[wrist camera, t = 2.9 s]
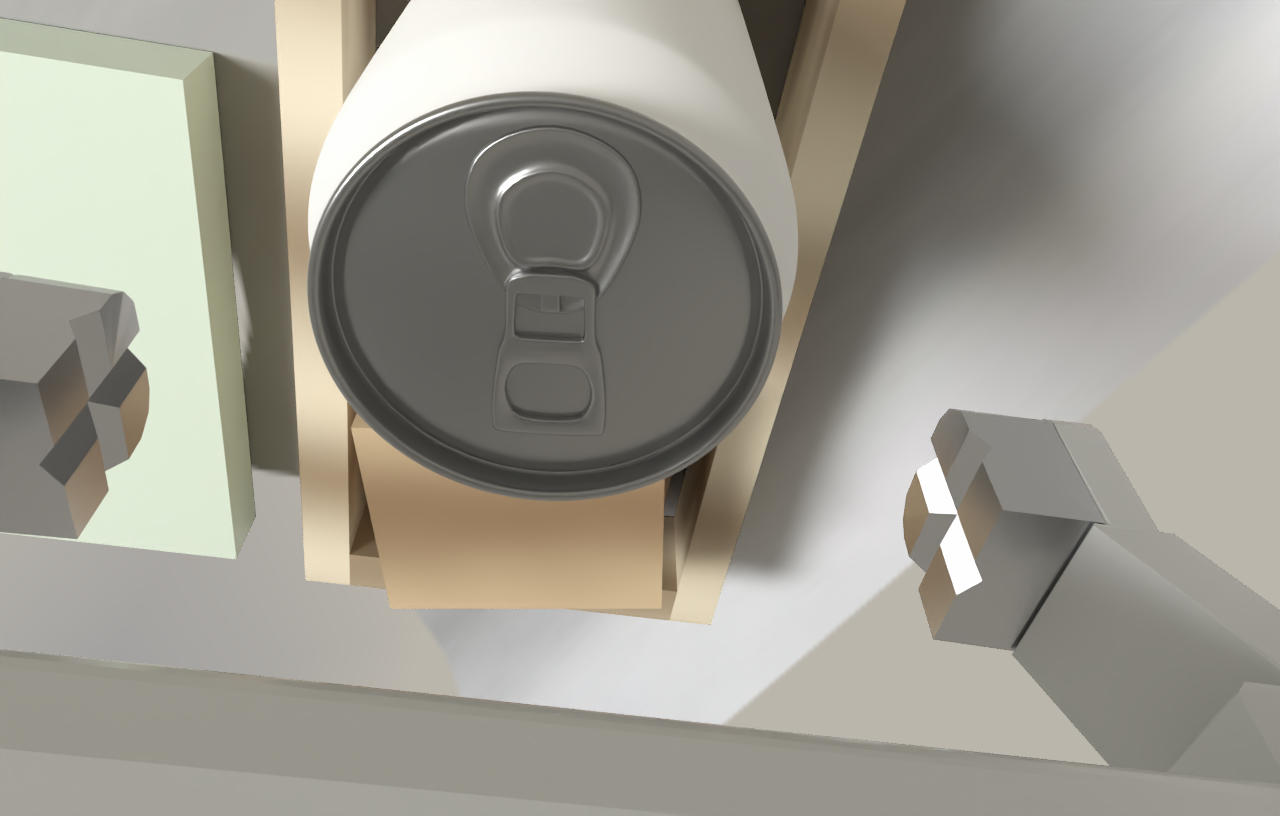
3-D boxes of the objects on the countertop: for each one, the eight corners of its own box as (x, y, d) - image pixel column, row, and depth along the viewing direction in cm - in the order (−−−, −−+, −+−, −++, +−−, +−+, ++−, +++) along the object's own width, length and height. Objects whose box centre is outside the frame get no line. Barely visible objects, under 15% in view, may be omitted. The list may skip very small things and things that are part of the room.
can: (756, -127, 20) (873, 74, 10) (718, 180, 23) (776, 537, 14) (426, -153, 19) (218, 29, 10) (444, 162, 23) (307, 515, 14)
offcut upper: (659, 523, 26) (661, 608, 24) (412, 523, 26) (390, 608, 24) (663, 348, 23) (665, 428, 21) (380, 348, 23) (351, 428, 21)
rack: (705, 550, 31) (710, 624, 28) (332, 506, 30) (305, 580, 27) (924, -209, 19) (966, -191, 16) (309, -333, 18) (256, -332, 15)
